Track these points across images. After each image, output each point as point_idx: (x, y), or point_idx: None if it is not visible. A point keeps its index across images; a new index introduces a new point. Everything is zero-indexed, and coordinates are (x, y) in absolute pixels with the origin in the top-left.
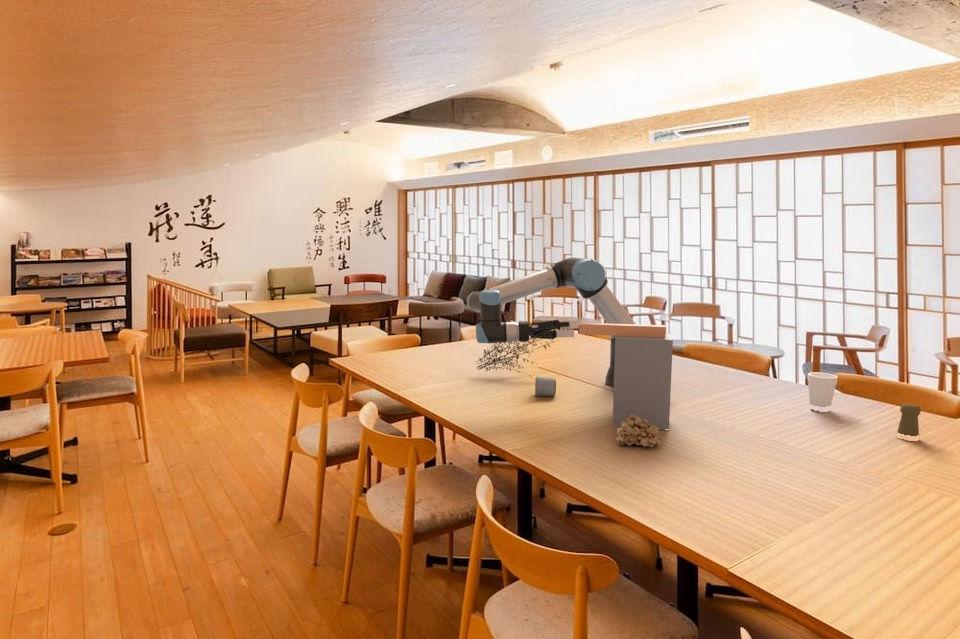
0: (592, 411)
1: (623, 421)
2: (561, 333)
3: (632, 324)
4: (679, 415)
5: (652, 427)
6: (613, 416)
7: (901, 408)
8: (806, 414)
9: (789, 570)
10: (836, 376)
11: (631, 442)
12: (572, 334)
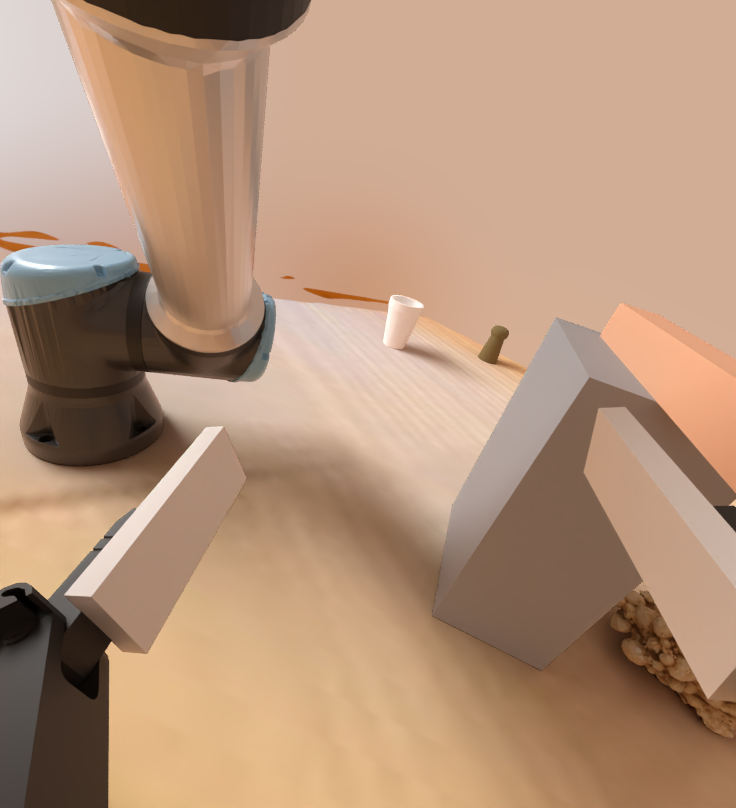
0: (377, 671)
1: (689, 668)
2: (165, 559)
3: (667, 331)
4: (419, 470)
5: None
6: (558, 653)
7: (501, 333)
8: (411, 359)
9: None
10: (413, 299)
11: None
12: (233, 474)
